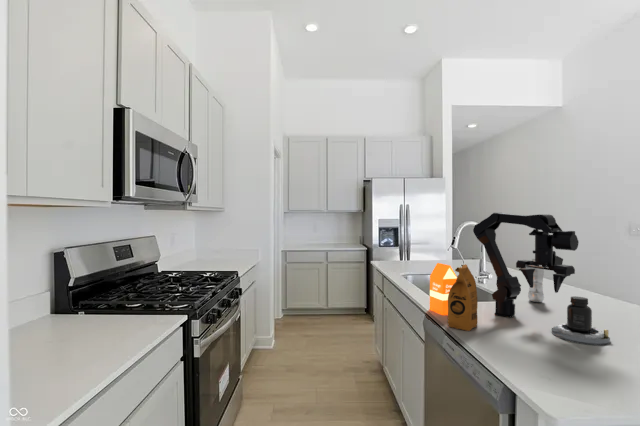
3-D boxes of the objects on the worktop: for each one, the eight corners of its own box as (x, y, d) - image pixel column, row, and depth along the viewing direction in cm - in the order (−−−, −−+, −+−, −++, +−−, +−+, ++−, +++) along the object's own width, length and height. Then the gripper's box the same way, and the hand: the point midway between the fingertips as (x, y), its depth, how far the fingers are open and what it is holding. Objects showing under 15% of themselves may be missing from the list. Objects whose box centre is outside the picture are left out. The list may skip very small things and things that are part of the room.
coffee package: (442, 326, 131) (443, 266, 131) (454, 319, 140) (454, 262, 140) (471, 332, 124) (471, 269, 124) (481, 324, 134) (481, 265, 134)
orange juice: (444, 308, 156) (444, 262, 156) (458, 313, 148) (458, 265, 148) (429, 309, 154) (429, 263, 153) (442, 315, 145) (442, 266, 145)
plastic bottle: (541, 300, 170) (542, 258, 170) (545, 304, 163) (546, 260, 163) (526, 299, 172) (526, 258, 172) (529, 303, 165) (529, 259, 165)
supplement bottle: (596, 335, 119) (597, 299, 119) (582, 337, 117) (582, 300, 117) (576, 329, 126) (576, 294, 126) (562, 331, 124) (562, 296, 124)
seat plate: (549, 337, 120) (549, 327, 120) (553, 325, 132) (553, 316, 132) (611, 349, 110) (611, 337, 110) (608, 334, 123) (608, 324, 123)
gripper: (583, 249, 128) (583, 293, 128) (533, 245, 145) (533, 283, 145) (565, 251, 124) (565, 296, 124) (515, 246, 140) (514, 286, 140)
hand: (543, 290), depth 133 cm, fingers open, 9 cm apart
